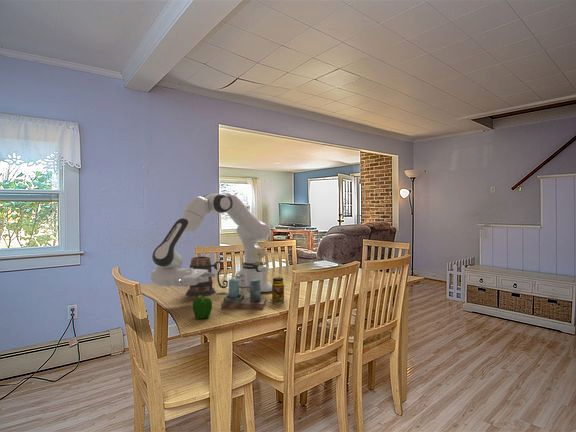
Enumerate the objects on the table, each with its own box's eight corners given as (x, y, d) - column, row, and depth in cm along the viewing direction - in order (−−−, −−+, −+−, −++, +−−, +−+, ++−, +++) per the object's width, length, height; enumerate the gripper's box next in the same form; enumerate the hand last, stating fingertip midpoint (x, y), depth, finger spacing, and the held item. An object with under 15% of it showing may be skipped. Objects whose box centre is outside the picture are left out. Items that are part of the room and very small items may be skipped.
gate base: (221, 308, 158) (221, 282, 158) (226, 302, 168) (226, 277, 168) (263, 309, 156) (263, 282, 156) (266, 303, 166) (266, 278, 166)
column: (226, 300, 162) (226, 280, 162) (234, 298, 166) (234, 278, 166) (233, 302, 159) (233, 281, 159) (241, 300, 163) (241, 279, 163)
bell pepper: (204, 313, 150) (204, 291, 150) (215, 317, 145) (215, 294, 145) (188, 318, 144) (187, 295, 143) (199, 322, 138) (199, 298, 138)
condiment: (280, 304, 165) (280, 280, 165) (265, 301, 169) (265, 278, 169) (287, 300, 171) (287, 277, 171) (273, 298, 175) (273, 275, 175)
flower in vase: (275, 289, 196) (275, 246, 196) (273, 294, 185) (272, 249, 185) (254, 288, 198) (253, 246, 197) (249, 293, 186) (249, 248, 186)
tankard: (182, 297, 179) (182, 260, 179) (187, 289, 196) (187, 255, 195) (227, 295, 182) (227, 259, 182) (228, 288, 199) (228, 255, 199)
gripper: (175, 275, 155) (204, 275, 154) (191, 267, 176) (217, 266, 175) (176, 288, 156) (205, 288, 155) (191, 279, 176) (217, 278, 175)
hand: (211, 277), depth 165 cm, fingers open, 8 cm apart
